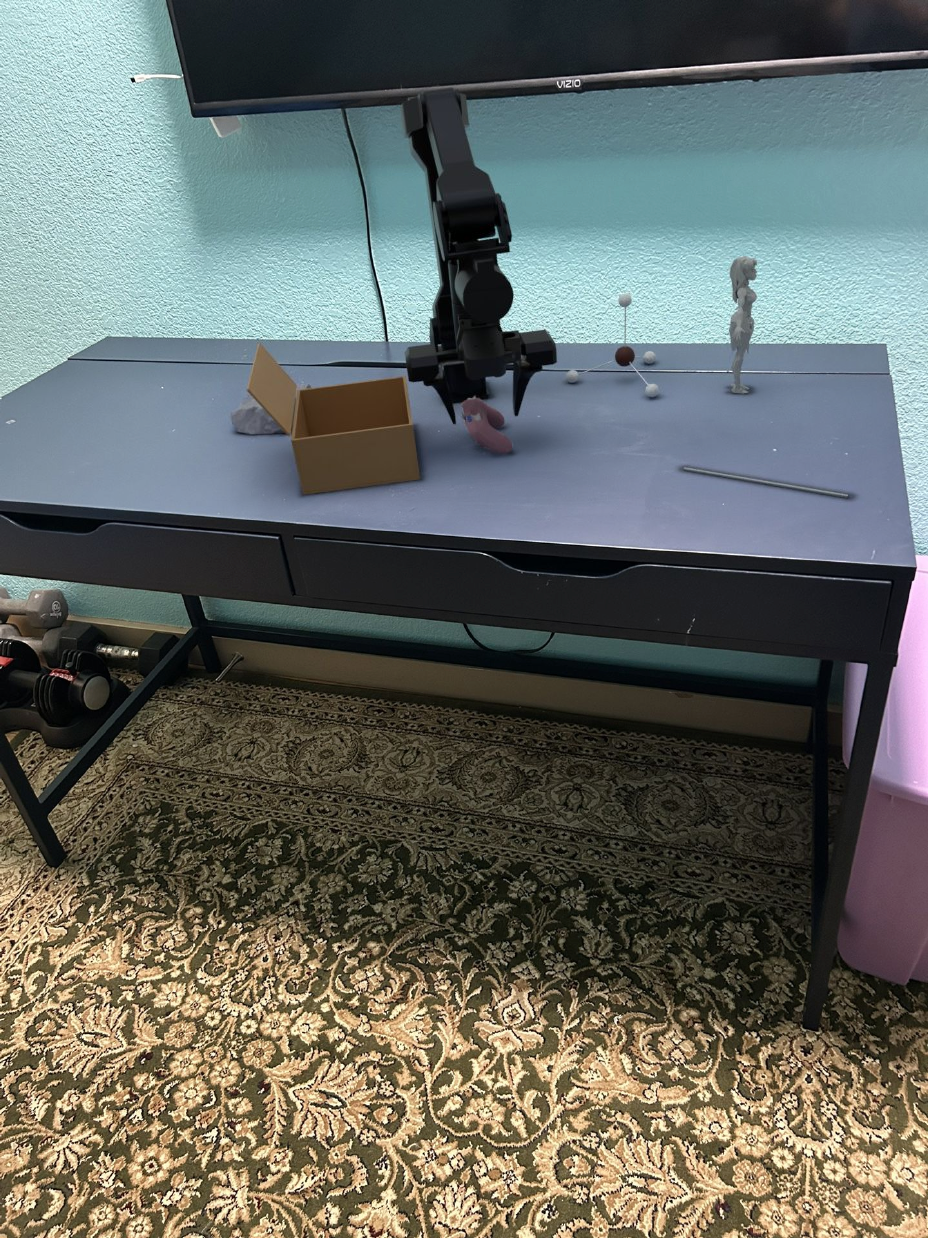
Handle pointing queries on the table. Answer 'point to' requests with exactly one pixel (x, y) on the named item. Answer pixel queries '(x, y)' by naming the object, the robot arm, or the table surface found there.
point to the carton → (354, 435)
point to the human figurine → (741, 315)
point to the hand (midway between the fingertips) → (485, 419)
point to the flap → (272, 389)
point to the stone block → (257, 417)
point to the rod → (767, 482)
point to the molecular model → (624, 355)
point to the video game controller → (485, 425)
